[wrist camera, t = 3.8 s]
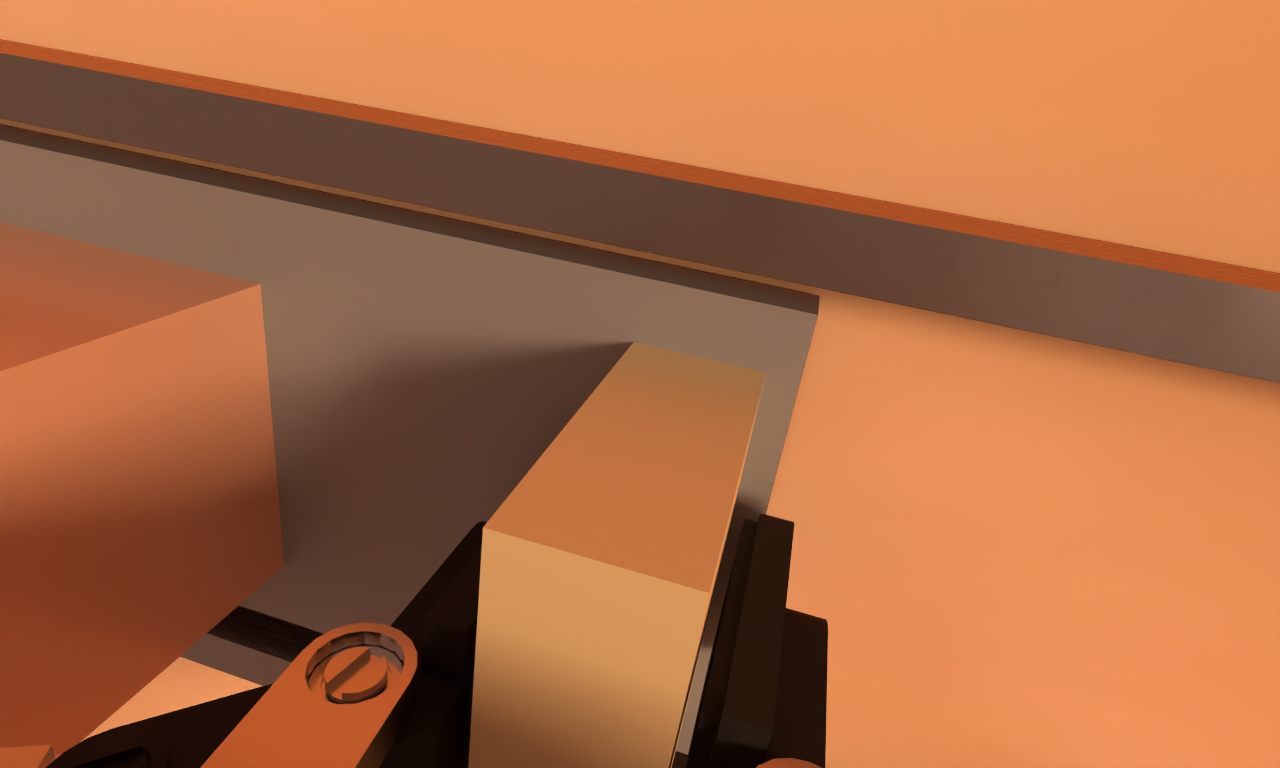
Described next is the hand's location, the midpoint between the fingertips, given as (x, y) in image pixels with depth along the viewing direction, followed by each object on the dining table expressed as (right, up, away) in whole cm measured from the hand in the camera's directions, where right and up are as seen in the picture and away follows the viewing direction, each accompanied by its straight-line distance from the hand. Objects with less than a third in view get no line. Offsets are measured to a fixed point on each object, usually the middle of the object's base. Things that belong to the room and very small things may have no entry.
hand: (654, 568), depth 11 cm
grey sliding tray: (-7, +2, +3) cm, 8 cm away
